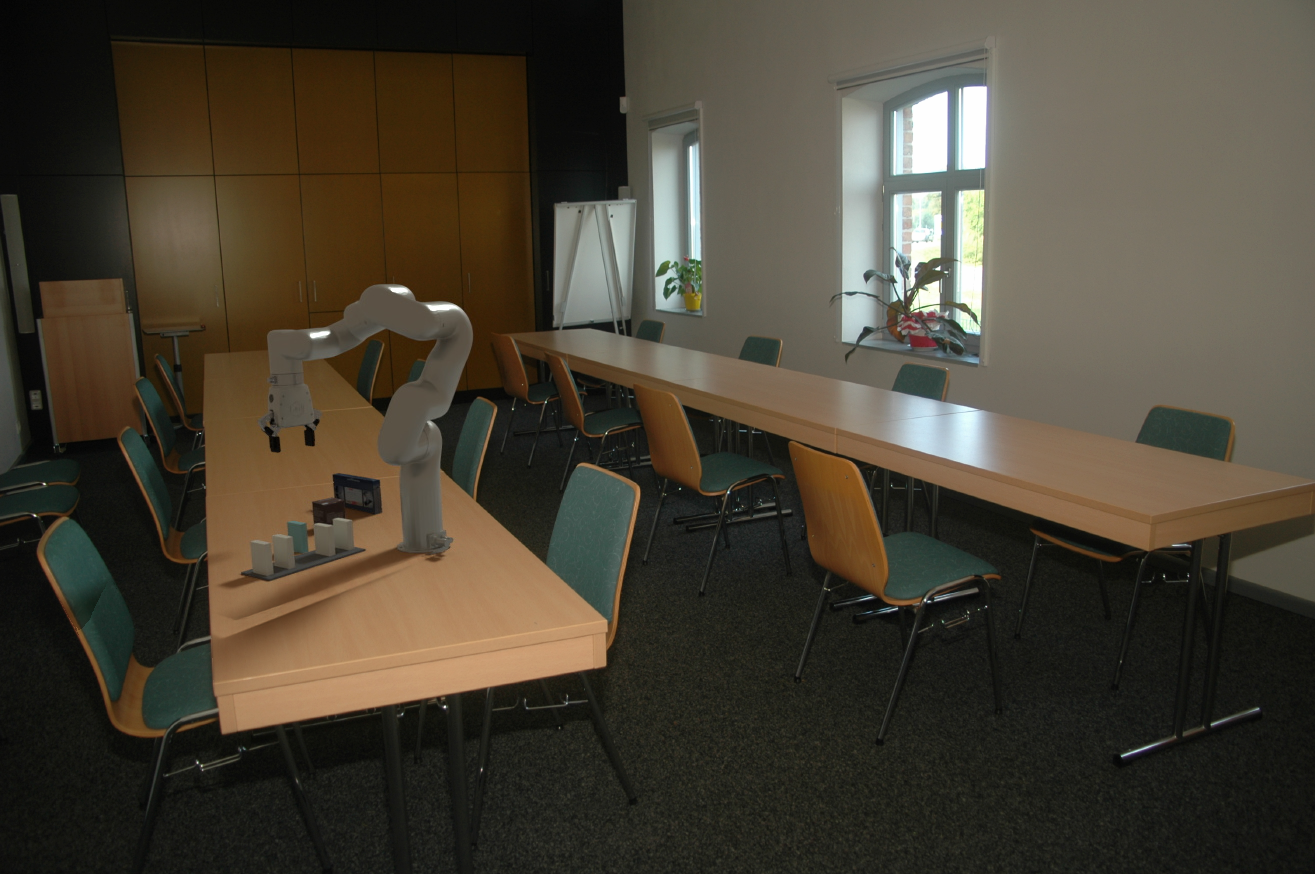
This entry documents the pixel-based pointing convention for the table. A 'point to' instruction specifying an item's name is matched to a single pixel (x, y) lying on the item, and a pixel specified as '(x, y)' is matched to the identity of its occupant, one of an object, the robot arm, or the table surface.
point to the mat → (304, 563)
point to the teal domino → (298, 536)
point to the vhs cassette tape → (358, 492)
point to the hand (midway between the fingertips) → (293, 449)
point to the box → (328, 510)
